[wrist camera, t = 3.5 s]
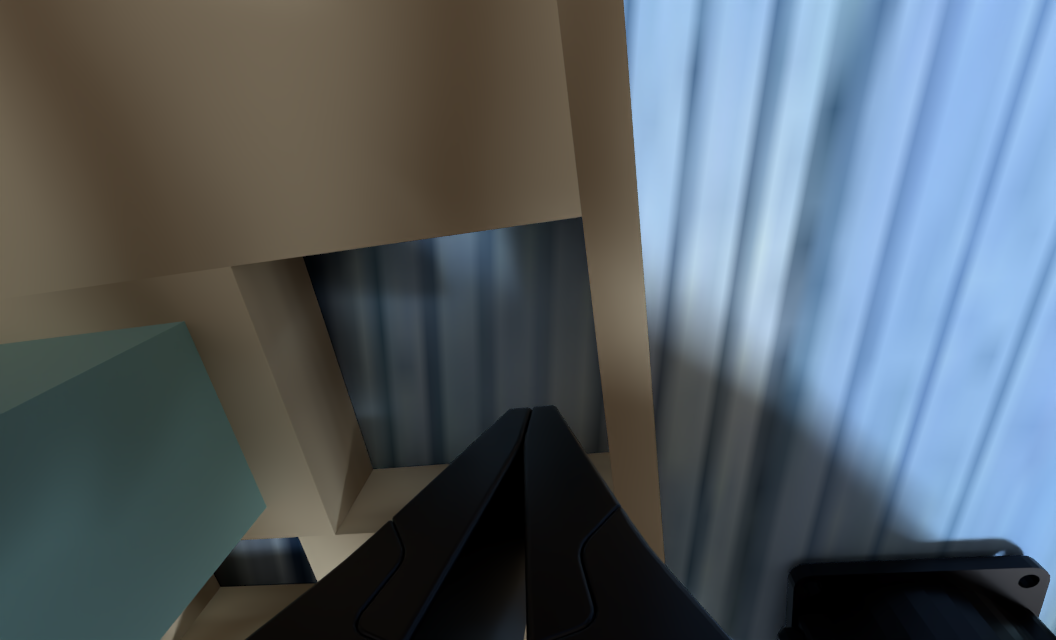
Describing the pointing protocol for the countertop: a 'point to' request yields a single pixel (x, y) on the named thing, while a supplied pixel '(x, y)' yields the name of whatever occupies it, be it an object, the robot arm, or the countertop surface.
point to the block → (113, 484)
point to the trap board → (311, 211)
